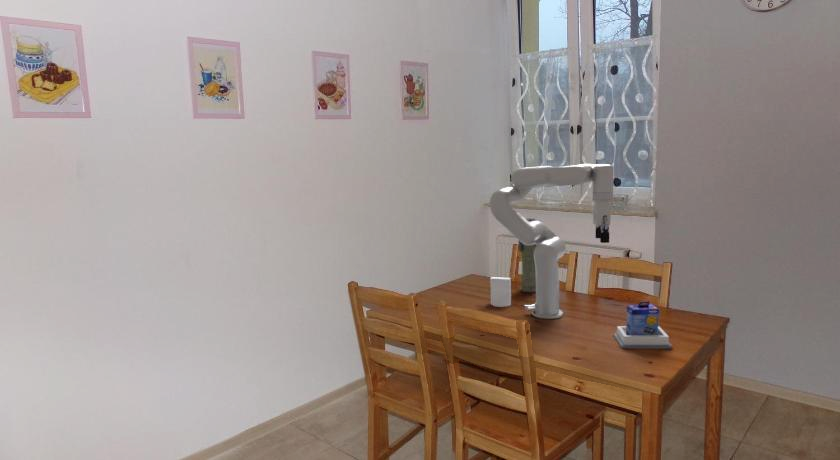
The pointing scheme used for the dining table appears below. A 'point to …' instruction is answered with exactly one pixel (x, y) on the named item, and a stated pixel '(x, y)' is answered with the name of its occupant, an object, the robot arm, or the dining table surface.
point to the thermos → (528, 266)
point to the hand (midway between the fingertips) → (602, 240)
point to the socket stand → (642, 340)
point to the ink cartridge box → (642, 319)
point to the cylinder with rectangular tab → (500, 291)
